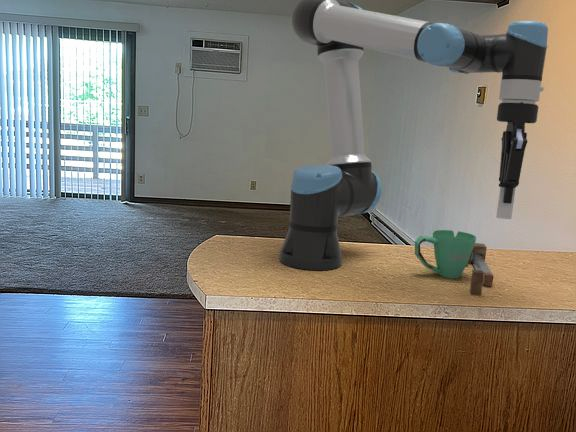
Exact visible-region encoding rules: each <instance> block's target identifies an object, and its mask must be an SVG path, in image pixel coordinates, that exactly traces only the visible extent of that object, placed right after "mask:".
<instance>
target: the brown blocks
mask: <svg viewBox="0 0 576 432" xmlns="http://www.w3.org/2000/svg"><path fill="white" fill-rule="evenodd" d="M472 253H480V255H481V256H482V258H483V260H484V261H485V262H486V256H487V245H486V244H485V243H479V242H475V244H474V247H473V250H472V252H471V255H470V258H469V261H468V263H467V265H466V267H468V265H471V264H472V262H471V257H472ZM466 267H465V268H466ZM483 275H484V272H483V271H482V270H476V269H472V273H471V282H470V288H469V293H470V295H471V296H480V297H481V296H482V292H483V291H482V290H483V289H482V288H483Z"/></svg>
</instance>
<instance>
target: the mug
mask: <svg viewBox="0 0 576 432" xmlns="http://www.w3.org/2000/svg"><path fill="white" fill-rule="evenodd" d="M476 241H477V236H476V235H474V234H472V233H468V232H465V231H459V230H458V231H457V233H456V235H455V233H454V230H452V229H451V230H450V229H438V230H433V231H432V236H429V235H419V236H418V237H417V238H416V239H415V241H414V255H415V257H416V258H417V259H418V260H419V261H420V263H422V265H423V266H424V268H426V269H429V270H431V271H432V272H435V273H437V274H439V276H441V277H444V278H448V279H459V278H461V276H462V274H463V273H464V271H465V269H466V265H467V266H468V264H467V263H468V261H469V258H470V255H471V252H472V250H473V247H474V244H475V243H476ZM425 242H428V243H430V244H432V245H433V251H434V253H433V254H434V260H435V265H436V266H434V265H432V264H430V263H428V262H427V260H426V259H425V257H424V256H423V254H422V251H421V245H422V243H425Z"/></svg>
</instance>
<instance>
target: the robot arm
mask: <svg viewBox="0 0 576 432" xmlns="http://www.w3.org/2000/svg"><path fill="white" fill-rule="evenodd" d="M291 26H292V29H293V32H294V33H295V35H296V36H297V37H298V38H299V39H300V40H302V41H303V42H305V43H307V44H310V45H313V46H316V49H317V59H318V60H319V61H320V62H321V63H322V64H323V65H324V77H325V89H326V102H327V103H326V105H327V116H328V129H329V144H330V145H329V147H330V156H331V157H330V159H329V160H328V161H327V163H325V164H317V165H315V164H312V165H311V164H310V165H305V166H304V165H303V166H300V167H298V168H297V169H295V170H294V172H293V174H292V180H291V183H290V189H291V190H290V205H289V206H290V208H289V221H288V222H289V224H288V231H287V233H286V236H285V238H284V241H283V244H282V246H281V249H280V252H279V261H280V262H281V263H282V264H284V265H286V266H287V267H291V268H295V269H301V270H309V271H310V270H311V271H328V270H335V269H337V268H339V267H340V268H341V266H342V263H343V254H342V250H341V247H340V246H341V244H340V242H339V237H338V224H339V223H338V222H339V221H338V220H339V218H342V217H343V218H344V217H349V216H360V215H363V214H365V213H368V212H370V211H372V210H374V208H375V207H376V206H377V204H378V203H379V202H380V199H381V196H382V189H383V187H382V182H381V179H380V177H379V176H378V175H377V173H376V172H374V171H373V169H372V167H373V166H372V160H371V159H369V157H367V156H366V154H365V141H364V139H365V138H364V126H363V125H364V124H363V112H362V97H361V82H360V71H359V70H360V68H359V66H360V65H359V61H360V59H361V58H362V56H364V54H365V53H364V52H365V51H364V49H368V50H371V51H377V52H382V53H386V54H390V55H394V56H398V57H403V58H408V59H411V60H414V61H415V60H416V61H420V62H423V63H427V64H429V65H431V66H438V67H444V68H445V67H446V68H448V69H449V71H451V72H452V73H455V74H456V73H457V74H458V73H459V74H465V75H466V74H475V73H477V74H478V73H480V74H481V73H498V74H499V73H501V80H500V86H499V87H500V88H499V95H498V99H499V101H501V102H500V103H499V104H498V106H497V113H496V121H498V122H499V123H500V122H502V123H507V125H506V128H505V131H503V132H502V137H501V139H500V140H501V153H500V165H499V175H498V176H499V177H498V182H499V183H498V187H499V194H498V202H497V207H496V208H497V209H496V216H495V217H496V218H497V219H504V220H512V217H513V209H514V201H515V194H516V188H517V187H518V186H519V184H520V178H521V177H520V176H521V173H522V166H523V161H524V156H525V151H526V147H527V144H528V138H527V136H528V133H527V132H525V130H526V129H525V128H526V124H535V123H537V119H538V113H539V105H538V104H536V103H537V102H539V101H540V96H541V92H543V91H544V90H545V87H543V86H542V81H543V73H544V67H545V62H546V56H547V55H546V54H547V49H548V34H549V32H548V31H549V27H548V25H547V24H546V23H544V22H542V21H538V20H518V21H513V22H510V23H509V24H508V26H507V30H506V33H501V34H478V33H474V32H472V31H468V30H466V29H462V28H459V27H456V26H455V25H453V24H450V23H445V22H430V21H426V20H422V19H421V20H420V19H415V18H410V17H404V16H399V15H393V14H387V13H383V12H377V11H372V10H366V9H363V8H362V7H360V6H358V5H357V4H356V3H355V4H354V3H353V2H352V1H351V2H350V1H346V0H298V1H297V2H296V4H295V5H294V7H293V9H292V12H291Z"/></svg>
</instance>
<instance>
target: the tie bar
mask: <svg viewBox="0 0 576 432" xmlns="http://www.w3.org/2000/svg"><path fill="white" fill-rule="evenodd" d="M471 264H472V265H473V267H474V270H482V271H483V272H484V275H483V283H482V286H488V287H493V283H494V274H493V272H492V271H491V269H490V268H489V266H488V265H487V263H486V260H485V261H484V260H483V258H482V256H481V255H480V253H472V257H471Z"/></svg>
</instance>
